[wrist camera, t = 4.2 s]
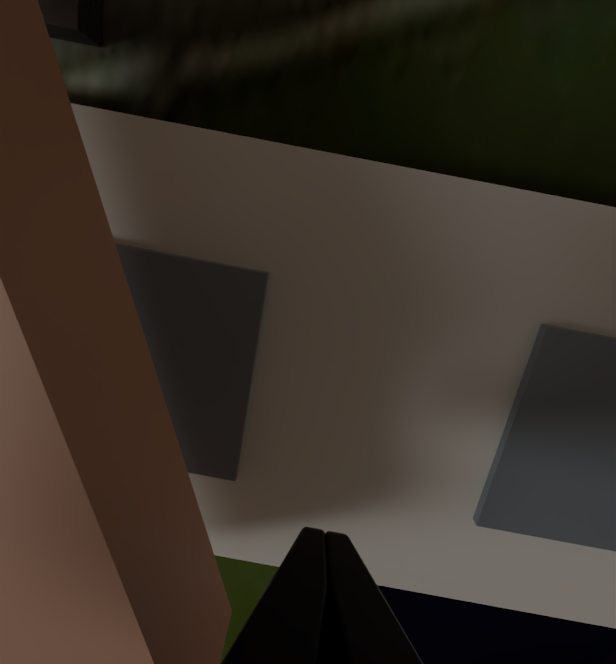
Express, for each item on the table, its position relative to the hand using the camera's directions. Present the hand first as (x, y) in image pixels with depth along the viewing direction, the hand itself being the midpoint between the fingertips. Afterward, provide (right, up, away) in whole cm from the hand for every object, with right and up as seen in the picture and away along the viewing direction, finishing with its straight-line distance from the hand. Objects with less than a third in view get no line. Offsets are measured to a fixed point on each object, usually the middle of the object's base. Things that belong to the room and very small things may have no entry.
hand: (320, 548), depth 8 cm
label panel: (+2, +2, +4) cm, 5 cm away
